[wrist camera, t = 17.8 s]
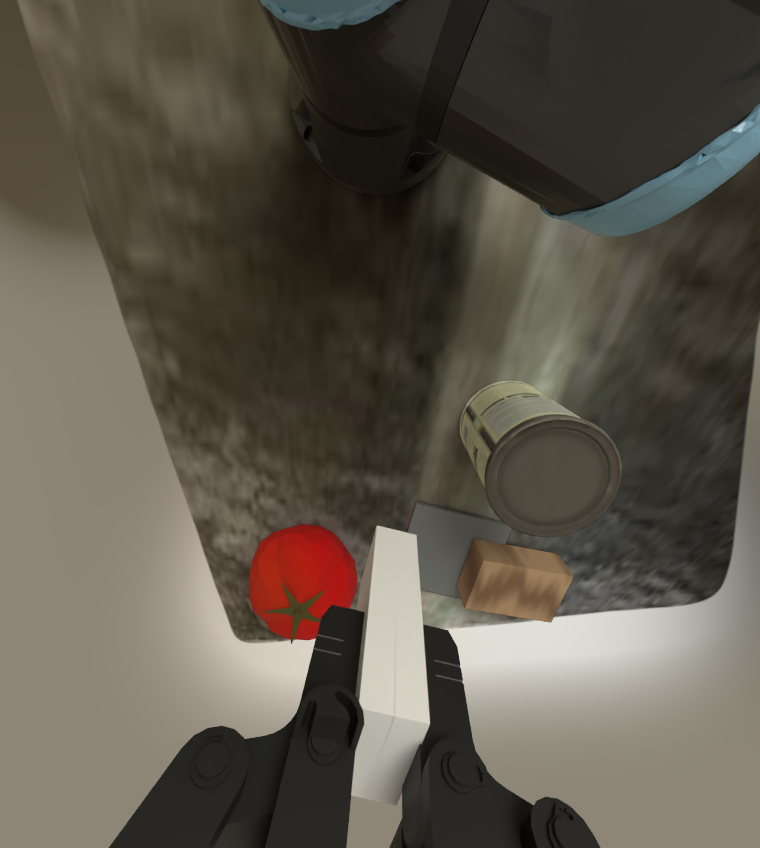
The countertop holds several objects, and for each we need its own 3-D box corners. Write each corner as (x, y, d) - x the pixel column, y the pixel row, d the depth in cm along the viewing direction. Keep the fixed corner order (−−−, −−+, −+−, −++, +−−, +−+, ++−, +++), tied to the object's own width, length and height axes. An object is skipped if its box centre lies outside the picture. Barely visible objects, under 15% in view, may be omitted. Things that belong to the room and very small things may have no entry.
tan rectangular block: (483, 560, 43) (573, 576, 44) (474, 538, 47) (557, 553, 48) (464, 608, 45) (551, 622, 46) (457, 583, 49) (536, 597, 50)
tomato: (358, 596, 51) (348, 669, 41) (267, 588, 52) (236, 658, 42) (363, 510, 47) (353, 567, 37) (264, 502, 48) (228, 556, 37)
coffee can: (568, 437, 43) (644, 500, 30) (486, 481, 45) (523, 557, 32) (526, 360, 41) (588, 390, 27) (442, 410, 43) (461, 461, 29)
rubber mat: (416, 501, 46) (416, 503, 46) (511, 524, 47) (512, 526, 46) (392, 579, 50) (391, 582, 50) (479, 600, 51) (480, 603, 50)
